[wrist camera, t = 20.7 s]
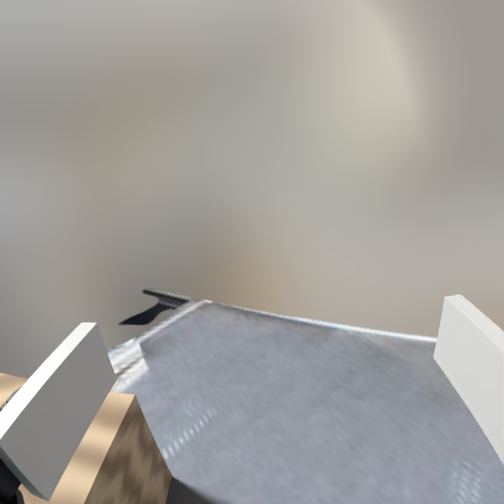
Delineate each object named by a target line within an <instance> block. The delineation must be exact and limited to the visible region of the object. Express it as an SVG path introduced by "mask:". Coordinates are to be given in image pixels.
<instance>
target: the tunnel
mask: <svg viewBox="0 0 504 504" xmlns="http://www.w3.org/2000/svg"><path fill="white" fill-rule="evenodd" d="M27 380H28V379H24V378H20V377H15V376H11V375H7V374H3V373H0V407H1V406H2V405H3V403H6V400H7V399H8V398H9V397H10V395H11V394H12V393H13V392H14V391H16V390H17V389H18V388H20V387H21V386H23V385H24V384H25V383H26V382H27ZM172 477H173V476H172V474H171V472H170V471H169V469H168V467H167V465H166V463H165V461H164V459H163V457H162V455H161V453H160V450H159V448H158V446H157V444H156V442H155V440H154V438H153V436H152V433H151V431H150V429H149V427H148V424H147V422H146V420H145V417H144V415H143V413H142V410H141V408H140V405H139V403H138V401H137V398H136V396H135V394H123V393H113V392H109V394H108V395H107V397H106V399H105V400H104V402H103V404H102V405H101V407H100V409H99V411H98V412H97V414H96V416H95V418H94V419H93V421H92V423H91V425H90V426H89V428H88V430H87V432H86V433H85V435H84V437H83V439H82V440H81V442H80V444H79V446H78V448H77V449H76V451H75V453H74V455H73V457H72V459H71V460H70V462H69V464H68V466H67V468H66V470H65V472H64V473H63V475H62V477H61V479H60V481H59V483H58V485H57V487H56V489H55V490H54V492H53V494H52V496H51V498H50V500H49V502H48V501H46V500H44V499H41V498H39V497H37V496H35V495H32V494H31V493H30V492H29V491H28V490H27V489H26V488H25V487H24V486H23V485H22V484H21V485H20V486H19V488H18V489H19V490H20V491H21V493H22V495H23V498H24V503H25V504H166V500H167V496H168V492H169V488H170V484H171V481H172Z"/></svg>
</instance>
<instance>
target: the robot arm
mask: <svg viewBox="0 0 504 504" xmlns="http://www.w3.org/2000/svg"><path fill="white" fill-rule="evenodd" d="M433 358H434V359H435V361H436V362H437V363H438V365H439V366H440V367H441V369H442V370H443V372H444V373H445V374H446V376H447V377H448V379H449V380H450V382H451V383H452V384H453V386H454V387H455V389H456V390H457V392H458V393H459V395H460V396H461V398H462V399H463V401H464V402H465V404H466V405H467V407H468V408H469V410H470V411H471V413H472V414H473V416H474V417H475V419H476V420H477V422H478V423H479V425H480V427H481V428H482V430H483V431H484V433H485V434H486V436H487V438H488V439H489V441H490V443H491V444H492V446H493V448H494V449H495V451H496V452H497V454H498V456H499V458H500V459H501V461H502V463H503V464H504V332H503V331H502V330H501V329H500V328H499V327H498V326H497V325H495V324H494V323H493V322H492V321H491V320H490V319H489V318H488V317H486V316H485V315H484V314H483V313H482V312H481V311H479V310H478V309H477V308H476V307H475V306H474V305H472V304H471V303H470V302H469V301H468V300H466V299H465V298H464V297H463V296H462V295H455V296H449V297H445V299H444V305H443V311H442V317H441V322H440V328H439V334H438V338H437V343H436V347H435V352H434V356H433ZM116 380H117V378H116V376H115V373H114V370H113V368H112V365H111V362H110V360H109V357H108V354H107V351H106V348H105V346H104V343H103V340H102V337H101V334H100V331H99V328H98V325H97V323H81V324H80V325H79V326H78V327H77V328H76V329H75V330H74V331H73V332H72V333H71V334H70V335H69V336H68V337H67V338H66V339H65V340H64V342H63V343H61V345H60V346H59V347H58V348H57V349H56V350H55V351H54V352H53V353H52V354H51V355H50V356H49V357H48V358H47V359H46V361H45V362H44V363H43V364H42V365H41V366H40V367H39V368H38V369H37V371H36V372H35V373H34V374H33V375H32V376H31V377H30V378H29V379H28V380H27V382H26V383H25V384H24V385H23V386H21V387H20V388H18V389H17V390H16V391H14V392H13V393H12V394H11V395H10V397H9V398H8V399H7V400H6V403H3V405H2V406H1V407H0V504H25V503H24V498H23V495H22V493H21V491H20V490H19V489H18V488H19V486H20V485H21V484H22V485H23V486H24V487H25V488H26V489H27V490H28V491H29V492H30V493H31V494H32V495H35V496H37V497H39V498H41V499H44V500H46V501H48V502H49V500H50V498H51V496H52V494H53V492H54V490H55V489H56V487H57V485H58V483H59V481H60V479H61V477H62V475H63V473H64V472H65V470H66V468H67V466H68V464H69V462H70V460H71V459H72V457H73V455H74V453H75V451H76V449H77V448H78V446H79V444H80V442H81V440H82V439H83V437H84V435H85V433H86V432H87V430H88V428H89V426H90V425H91V423H92V421H93V419H94V418H95V416H96V414H97V412H98V411H99V409H100V407H101V405H102V404H103V402H104V400H105V399H106V397H107V395H108V394H109V392H110V390H111V388H112V387H113V385H114V383H115V382H116Z"/></svg>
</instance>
